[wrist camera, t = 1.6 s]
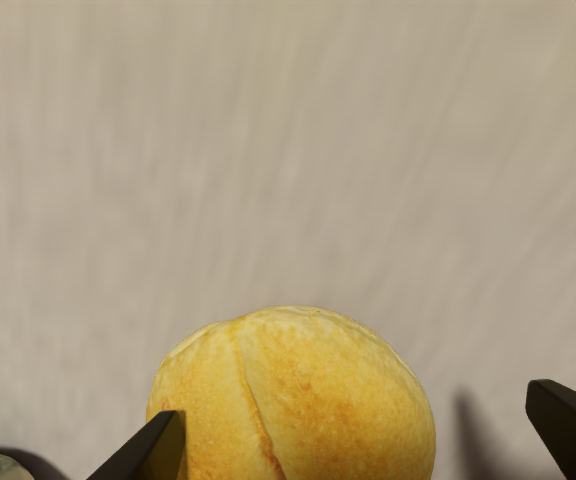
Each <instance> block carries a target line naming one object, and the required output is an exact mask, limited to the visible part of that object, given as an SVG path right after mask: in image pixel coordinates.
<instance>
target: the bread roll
mask: <svg viewBox="0 0 576 480" xmlns="http://www.w3.org/2000/svg"><path fill="white" fill-rule="evenodd" d="M164 410H177V411H178V413H179V416H180V419H181V423H182V427H183V430H184V435H185V443H184V449H183V453H182V458H181V462H180V467H179V471H178V476H177V480H430V478H431V475H432V471H433V466H434V459H435V452H436V433H435V424H434V419H433V414H432V411H431V408H430V404H429V401H428V398H427V396H426V393H425V391H424V389H423V388H422V386H421V384H420V382H419V380H418V378H417V377H416V375H415V374H414V372H413V370H412V369H411V367H410V366H409V365H408V364H407V363H406V362H405V361H404V360H403V359H402V358H401V356H399V355H398V354H397V353H396V352H395V350H394V349H393V348H392V347H391V346H390V345H389V344H388V343H387V342H386V341H385V340H383V339H382V338H381V337H380V336H379V335H377V334H376V333H375V332H374V331H372V330H370V329H368V328H367V327H365V326H363V325H362V324H360V323H358V322H356V321H354V320H352V319H350V318H349V317H346V316H344V315H342V314H339V313H337V312H332V311H328V310H325V309H322V308H319V307H312V306H273V307H267V308H262V309H259V310H257V311H255V312H252V313H248V314H246V315H244V316H241V317H238V318H236V319H235V320H227V321H221V322H216V323H213V324H209V325H207V326H205V327H203V328H201V329H199V330H197V331H196V332H194V333H193V334H191V335H190V336H189V337H187V338H186V339H184V340H183V341H181V342H180V343H179V344H178V345H177V346H176V347H175V348H174V349H173V350H172V351H171V352H170V353H169V354H168V355H167V356H166V357H165V358H164V360H163V361H162V363H161V364H160V366H159V369H158V371H157V373H156V375H155V377H154V381H153V385H152V389H151V393H150V397H149V400H148V405H147V411H146V424H147V423H148V422H149V421H150V420H151V419H152V418H153V417H154V416H155V415H157V414H158V413H159V412H160V411H164Z"/></svg>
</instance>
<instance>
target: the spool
mask: <svg viewBox="0 0 576 480" xmlns="http://www.w3.org/2000/svg"><path fill="white" fill-rule="evenodd" d="M0 480H34V478H33V477H32V476H31V474H30V473H29V472H28V471H27V470H26V469H25V468H24V467H23V466H21V465H20V464H19V463H18V462H17V461H15V460H14V459H13V458H11V457H8V456H5V455H2V454H0Z"/></svg>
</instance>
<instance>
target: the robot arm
mask: <svg viewBox="0 0 576 480" xmlns="http://www.w3.org/2000/svg"><path fill="white" fill-rule="evenodd" d="M525 409H526V413H527V416H528V418H529V420H530V422H531V423H532V425H533V426H534V428H535V430H536V431H537V433H538V434H539V436H540V438H541V439H542V441H543V442H544V444H545V446H546V447H547V449H548V450H549V452H550V454H551V455H552V457H553V458H554V460H555V462H556V463H557V465H558V466H559V468H560V470H561V471H562V473H563V474H564V476H565V478H566V479H567V480H576V391H574V390H572V389H570V388H568V387H566V386H563V385H561V384H559V383H557V382H555V381H553V380H550V379H538V380H531V381H530V382H529V383H528V388H527V396H526V405H525ZM184 443H185V435H184V430H183V427H182V423H181V419H180V416H179V413H178V411H177V410H164V411H160V412H159V413H158V414H157V415H155V416H154V417H153V418H152V419H151V420H150V421H149V422H148V423H147V424H146V425H145V426H144V427H142V428H141V429H140V430H139V431H138V432H137V433H136V434H135V435H134V436H133V437H132V438H131V439H129V440H128V441H127V442H126V443H125V444H124V445H123V446H122V447H121V448H120V449H119V450H118V451H116V452H115V453H114V454H113V455H112V456H111V457H110V458H109V459H108V460H107V461H106V462H105V463H103V464H102V465H101V466H100V467H99V468H98V469H97V470H96V471H95V472H94V473H93V474H92V475H91V476H89V477H88V478H87V479H86V480H177V476H178V471H179V467H180V462H181V458H182V453H183V449H184Z"/></svg>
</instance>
